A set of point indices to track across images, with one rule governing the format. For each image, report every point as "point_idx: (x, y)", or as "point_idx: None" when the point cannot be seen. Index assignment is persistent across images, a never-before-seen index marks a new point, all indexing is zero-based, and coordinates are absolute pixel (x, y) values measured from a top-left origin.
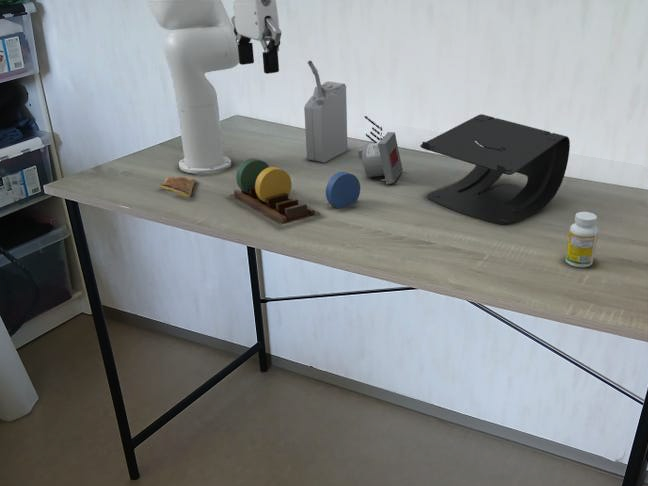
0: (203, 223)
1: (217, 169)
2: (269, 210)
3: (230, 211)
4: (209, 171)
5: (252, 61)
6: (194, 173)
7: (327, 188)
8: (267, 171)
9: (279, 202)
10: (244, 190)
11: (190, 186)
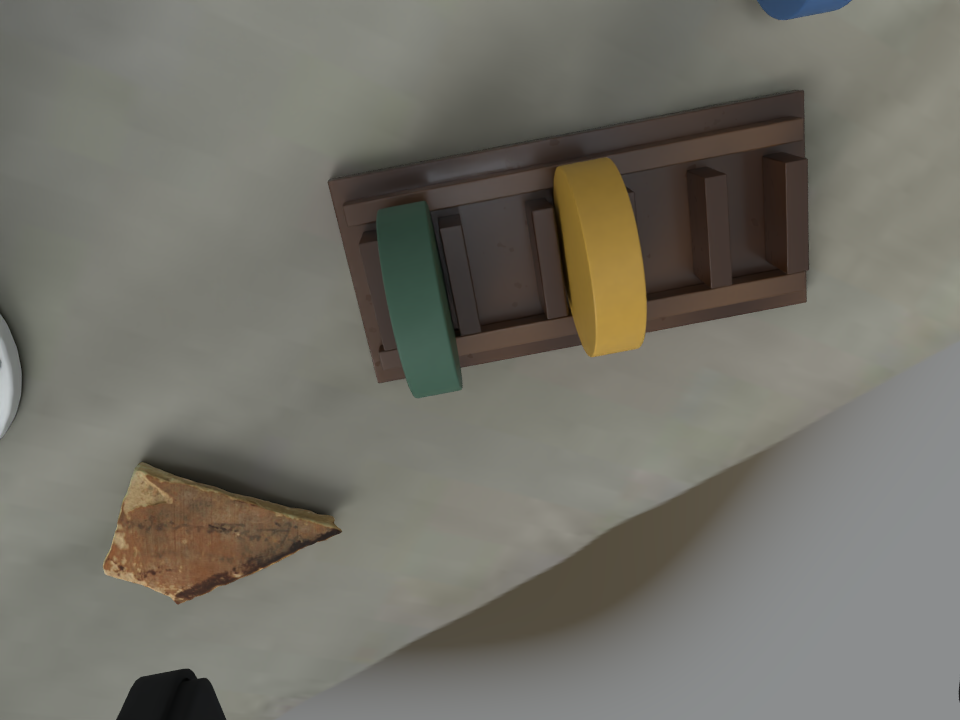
0: (591, 527)
1: (4, 337)
2: (694, 310)
3: (527, 414)
4: (16, 376)
5: (205, 709)
6: (4, 433)
7: (810, 10)
8: (635, 318)
9: (712, 270)
10: (457, 349)
11: (248, 512)
